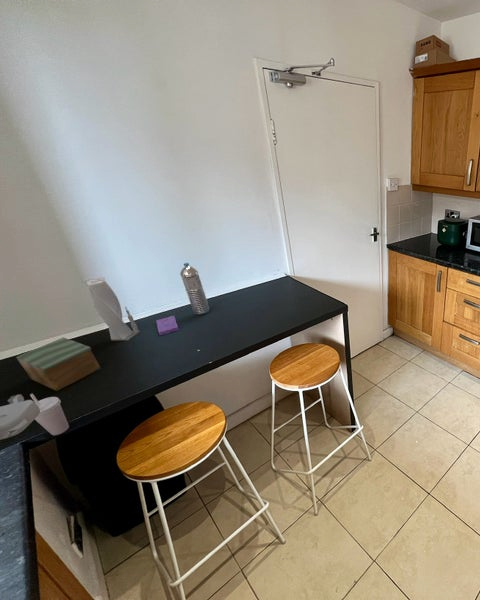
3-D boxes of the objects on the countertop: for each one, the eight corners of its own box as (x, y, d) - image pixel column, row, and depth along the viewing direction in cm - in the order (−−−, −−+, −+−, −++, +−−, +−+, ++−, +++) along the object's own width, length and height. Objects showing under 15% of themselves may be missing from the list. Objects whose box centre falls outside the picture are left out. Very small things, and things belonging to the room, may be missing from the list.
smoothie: (39, 435, 88) (11, 398, 82) (67, 418, 93) (43, 382, 87) (52, 442, 86) (24, 404, 79) (80, 424, 91) (56, 388, 85)
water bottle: (205, 315, 148) (188, 266, 136) (190, 315, 148) (173, 266, 137) (213, 308, 154) (198, 260, 143) (199, 308, 154) (183, 260, 143)
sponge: (175, 318, 145) (174, 315, 144) (179, 330, 137) (177, 326, 136) (157, 323, 141) (155, 320, 140) (159, 335, 133) (158, 332, 132)
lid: (91, 348, 110) (90, 347, 109) (44, 370, 99) (42, 368, 99) (64, 339, 115) (63, 337, 115) (17, 358, 104) (15, 356, 104)
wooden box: (100, 368, 114) (90, 348, 110) (56, 391, 103) (42, 370, 99) (75, 358, 119) (64, 339, 115) (31, 379, 108) (17, 359, 104)
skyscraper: (125, 342, 128) (94, 280, 115) (105, 342, 128) (73, 280, 115) (140, 331, 136) (113, 271, 123) (122, 331, 136) (93, 271, 123)
